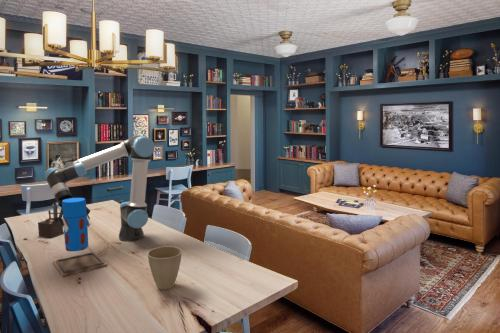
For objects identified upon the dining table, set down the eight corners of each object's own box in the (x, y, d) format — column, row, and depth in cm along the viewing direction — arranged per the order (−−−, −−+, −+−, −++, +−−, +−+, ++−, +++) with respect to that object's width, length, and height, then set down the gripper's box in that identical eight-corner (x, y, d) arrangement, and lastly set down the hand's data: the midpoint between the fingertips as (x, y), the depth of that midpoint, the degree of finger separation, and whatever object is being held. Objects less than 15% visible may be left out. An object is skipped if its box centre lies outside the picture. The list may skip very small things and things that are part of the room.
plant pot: (151, 296, 158) (150, 260, 156) (146, 282, 171) (145, 249, 169) (186, 289, 164) (185, 255, 162) (178, 276, 177) (177, 244, 175)
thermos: (74, 253, 183) (70, 203, 180) (60, 249, 188) (57, 200, 185) (93, 246, 192) (90, 199, 189) (79, 242, 198) (76, 196, 194)
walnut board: (94, 254, 206) (94, 251, 206) (107, 266, 190) (107, 262, 190) (52, 263, 193) (52, 260, 193) (62, 277, 177) (62, 273, 177)
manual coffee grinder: (51, 238, 234) (49, 210, 232) (38, 236, 238) (36, 209, 235) (70, 231, 248) (69, 205, 246) (58, 229, 252) (56, 203, 250)
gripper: (81, 194, 206) (97, 226, 198) (36, 201, 187) (52, 237, 180) (85, 185, 202) (102, 218, 194) (40, 192, 183) (57, 229, 176)
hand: (78, 227), depth 187 cm, fingers closed on thermos, 11 cm apart
